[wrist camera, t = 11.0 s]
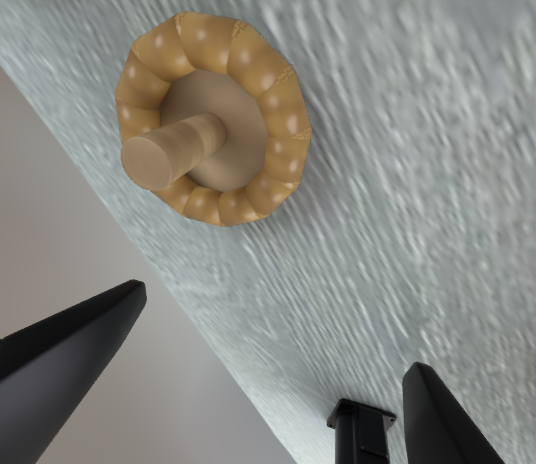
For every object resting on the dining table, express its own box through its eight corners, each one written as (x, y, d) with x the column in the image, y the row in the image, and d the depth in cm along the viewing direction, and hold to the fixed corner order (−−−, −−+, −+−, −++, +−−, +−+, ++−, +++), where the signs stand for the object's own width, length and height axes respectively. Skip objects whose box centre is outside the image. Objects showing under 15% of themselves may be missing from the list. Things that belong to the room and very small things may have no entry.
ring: (289, 231, 20) (284, 249, 18) (143, 194, 21) (123, 208, 19) (335, 38, 14) (334, 33, 12) (121, 1, 15) (88, -9, 13)
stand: (269, 202, 21) (235, 270, 14) (159, 175, 21) (76, 226, 15) (293, 64, 16) (260, 63, 9) (150, 37, 17) (18, 17, 10)
